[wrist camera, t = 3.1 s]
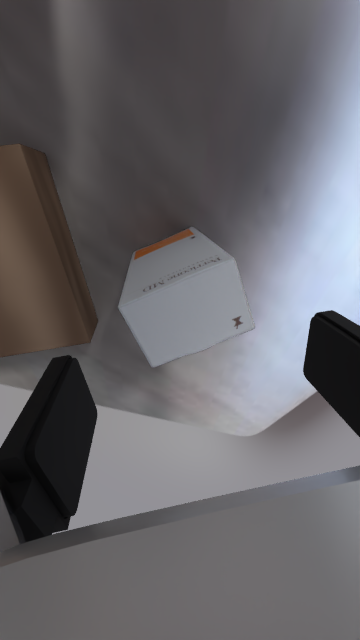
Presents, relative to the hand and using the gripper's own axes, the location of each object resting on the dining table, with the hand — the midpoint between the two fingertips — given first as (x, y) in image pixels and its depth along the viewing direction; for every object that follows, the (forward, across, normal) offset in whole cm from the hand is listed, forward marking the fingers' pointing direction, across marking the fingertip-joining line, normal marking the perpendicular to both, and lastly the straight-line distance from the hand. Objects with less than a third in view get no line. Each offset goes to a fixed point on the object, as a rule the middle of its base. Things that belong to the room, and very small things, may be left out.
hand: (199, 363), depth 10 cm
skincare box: (+15, 0, -1) cm, 15 cm away
